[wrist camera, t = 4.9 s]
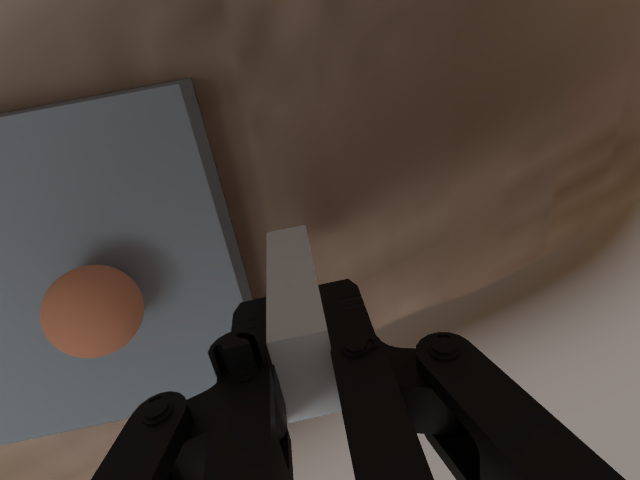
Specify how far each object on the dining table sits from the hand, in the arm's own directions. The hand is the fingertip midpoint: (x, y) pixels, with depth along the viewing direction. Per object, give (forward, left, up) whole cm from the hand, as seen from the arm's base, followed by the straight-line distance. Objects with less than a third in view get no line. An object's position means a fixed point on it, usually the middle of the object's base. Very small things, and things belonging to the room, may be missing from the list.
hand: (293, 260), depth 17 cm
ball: (-7, 0, +1) cm, 8 cm away
